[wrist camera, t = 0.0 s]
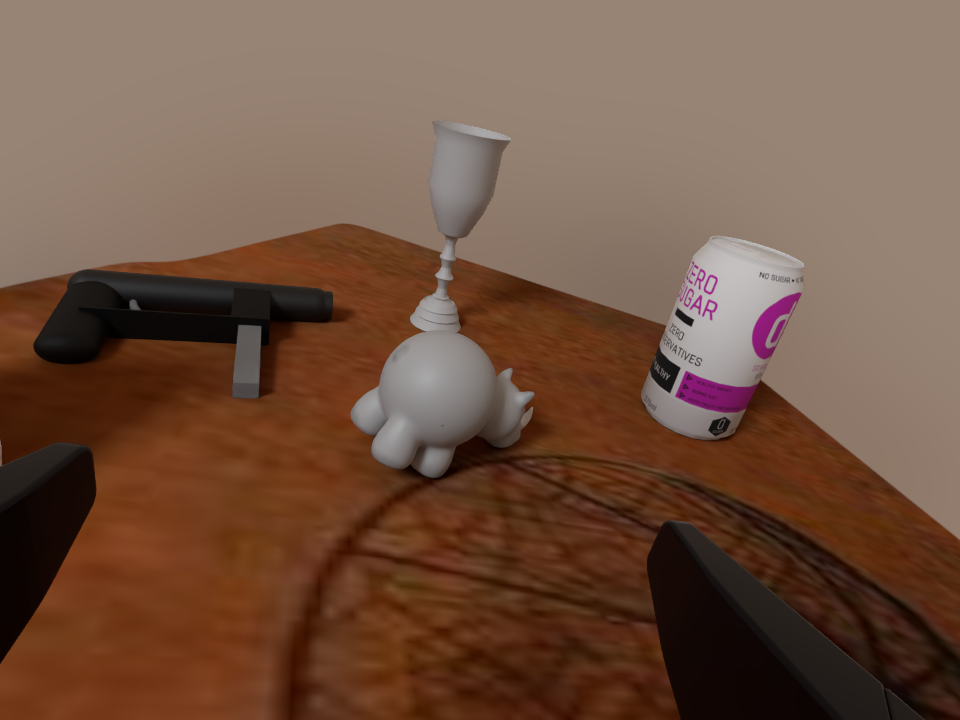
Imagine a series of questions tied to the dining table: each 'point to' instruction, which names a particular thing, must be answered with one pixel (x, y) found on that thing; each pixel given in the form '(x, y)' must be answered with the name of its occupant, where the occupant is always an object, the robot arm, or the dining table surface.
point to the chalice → (457, 204)
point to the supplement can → (721, 336)
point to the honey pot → (0, 454)
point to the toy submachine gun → (175, 316)
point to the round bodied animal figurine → (439, 403)
